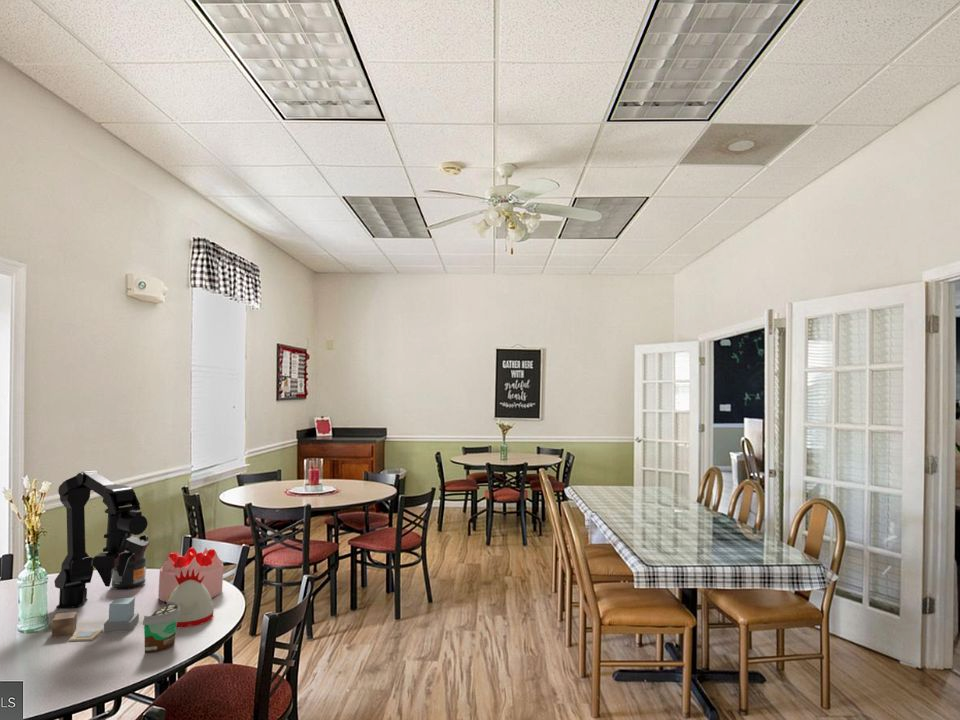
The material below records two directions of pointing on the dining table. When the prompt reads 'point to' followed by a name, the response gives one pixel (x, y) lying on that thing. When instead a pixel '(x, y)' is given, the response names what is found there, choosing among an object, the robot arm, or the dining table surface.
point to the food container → (161, 628)
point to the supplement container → (131, 574)
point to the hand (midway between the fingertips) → (114, 581)
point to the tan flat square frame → (85, 635)
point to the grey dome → (191, 600)
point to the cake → (200, 562)
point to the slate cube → (121, 609)
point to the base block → (121, 625)
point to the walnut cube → (64, 624)
